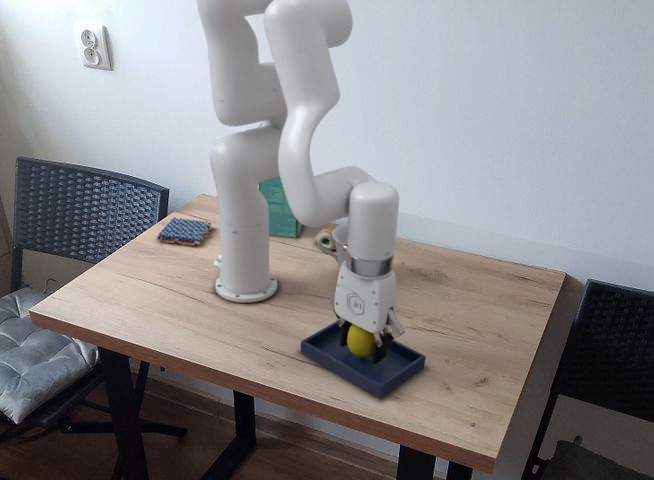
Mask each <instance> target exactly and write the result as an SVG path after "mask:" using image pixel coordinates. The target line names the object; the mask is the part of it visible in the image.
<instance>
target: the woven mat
mask: <svg viewBox="0 0 654 480" xmlns="http://www.w3.org/2000/svg"><path fill="white" fill-rule="evenodd" d="M211 230H213V226H212V222H209V221H208V220H206V221H202V220H200V219H199V221H198V220H195V219H192V220H191V219H189V218H185V219H183V218H182V217H180V218H176V217H175V216H174V217H173V218H172V219H170V220H169V221H168V222H167V223H166V225H165V226H164V227H163V228H162V230H161V231H160V232H159V233H158V235H157V236H156V240H158V241H159V242H161V243H168V244H174V243H176V244H180V245H184V246H199V245H201V243H202V241H203V240H204V239H206V238H208V234H209V233H210V231H211Z"/></svg>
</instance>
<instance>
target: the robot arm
mask: <svg viewBox="0 0 654 480" xmlns="http://www.w3.org/2000/svg"><path fill="white" fill-rule="evenodd" d="M196 6H197V7H196V8H197V11H198V16H199V19H200V22H201V26H202V29H203V32H204V36H205V40H206V46H207V55H208V58H207V59H208V66H209V76H210V87H211V97H212V104H213V109H214V113H215V117H216V118H217V120H218V121H219V122H220V123H221V124H222V125H224V126H227V127H234V128H235V127H242V126H248V125H252V124H255V123H261V122H263V126H262V127H259V126H258V127H254V128H249V129H245V130H242V131H237V132H234V133H231V134H228V135H225V136H223V137H221V138H220V139H218V140H217V141H215V142H214V144H213V145H212V147H211V149H210V152H209V164H210V168H211V173H212V176H213V181H214V185H215V190H216V197H217V206H218V207H217V208H218V222H219V223H218V225H219V238H220V239H219V241H220V253H219V255H217V260H214V261H213V263H212V267H214V268H216V269H218V270H219V276H218V277H217V278H216V280H215V282H214V283H215V284H214V286H215V291H216V293H217V294H218V295H219V297H221V298H223V299H225V300H227V301H229V302H235V303H245V304H246V303H247V304H249V303H256V302H260V301H265V300H267V299H268V298H270V297H272V296H273V295H274V294H275V293H276V291H277V290H278V279H277V278H276V276H275V275H273V274H272V273H270V235H269V209H268V204H267V201H266V199H265V197H264V196H263V195H262V193H261V192H260V191H259V183H261V182H264V181H266V180H269V179H272V178H276V177H279V176H280V178H281V181H282V185H283V188H284V191H285V195H286V198H287V201H288V204H289V206H290V209H291V211H292V213H293V214H294V216H295V218H296V219H297V220H298V221H299V222H300V223H301V224H303V226H305V227H308V228H318V227H321V226H324V225H327V224H329V223H332V222H335V221H338V220H340V219H343V218H348V219H347V223H348V235H347V243H346V244H345V245H344V246H343V250H344V251H345V252H346V260H345V261H344V262H343V263H342V266H341V269H340V268H339V272H338V276H337V281H336V285H335V293H334V294H333V295H331V296H329V297H328V302H329V304H330V305H331V307H332V309H333V313H334V315H335V316H336V318H337V321H338V325H339V326H341V329H340V346H342V347H344V346H346V345H348V343H347V337H348V332H349V329H350V327H351V326H352V324H355V325H356V326H358V327H360V328H362V329H364V330H366V331H368V332H370V333H373V334H374V337H375V341H376V343H374V344H373V349H372V360H371V362H372V363H373V364H376V363H378V362H380V361H381V360H383V359H384V358H385V357H386V355H387V347H388V342H390V341H392V340H396V339H397V338H400V337H401V336H402V335H404V334H406V333H405V332H406V330H405V329H404V327H403V325H402V323H401V322H400V320H399V318H398V317H397V316H396V315H397V300H398V299H397V296H398V295H397V294H398V293H397V281H396V279H397V278H396V272H395V270H393V268H394V259H395V249H396V248H395V247H396V237H397V227H398V218H399V217H398V216H399V208H400V207H399V206H400V194H399V192H398V190H397V188H396V187H395V186H393V185H391V184H389V183H388V182H387V183H386V182H382V181H378V180H377V179H375V178H374V177H373V176H372V175H370V174H369V173H368V172H366V171H365V170H364V169H362V168H360V167H358V166H355V165H346V166H343V167H340V168H336V169H334V170H329V171H327V172H323V173H320V174H317V175H315V174H314V170H313V166H312V161H311V144H312V139H313V136H314V134H315V131H316V129H317V128H318V126H319V125H320V123H321V122H322V120H323V119H324V118H325V116H326V115H327V114H328V113H329V112H330V111H331V110H332V109H333V108H334V107H335V106H336V105H338V103H339V101H340V99H341V91H340V86H339V84H338V80H337V77H336V72H335V68H334V64H333V62H332V57H331V54H330V50H329V49H331V48H338V47H340V46H342V45H344V44H345V43H346V42H347V41H348V40H349V39H350V37H351V34H352V31H353V27H354V26H353V25H354V21H353V20H354V19H353V13H352V10H351V7H350V4H349V3H348V1H347V0H196ZM257 15H263V28H264V32H265V36H266V39H267V44H268V47H269V50H270V53H271V56H272V60H273V61H266V62H261V63H260V55H259V42H258V38H257V35H256V34H255V33H256V32H255V31H254V30H253V28H252V26H251V24H250V23H249V21H248V20H247V18H246V17H249V16H257ZM390 328H391V329H390ZM381 333H382V334H383V335H384V336H382V335H381Z"/></svg>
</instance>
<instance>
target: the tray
mask: <svg viewBox="0 0 654 480" xmlns="http://www.w3.org/2000/svg"><path fill="white" fill-rule="evenodd" d="M340 329H341V326H339V325H338V320H336V321H334V322H333V323H331V324H329V325H327V326H326V327H325V326H324V327H323V328H322V329H320V330H318V331H317V332H314V333H313V334H311V335H309V336H308V337H306V338H304V339H302V340H301V341H300V354H301V355H303V356H305V357H307V358H308V359H310V360H312V361H313V362H315V363H317V364H319V365H320V366H321V367H324V368H325V369H327V370H328V371H331V372H332V373H334V374H336V375H337V376H339V377H341V378H342V379H344V380H345V381H348V382H350V383H351V384H353V385H355V386H356V387H358V388H359V389H361V390H364V391H365V392H367V393H368V394H370V395H371V396H373V397H375V398H377V399H379V400H381V399H382V398H384V397H385V396H387V395H388V394H390V393H391V392H392V391H394V390H395V389H397V388H398V387H400V386H401V385H402V384H404V383H406V382H407V381H408V380H409V379H411V378H412V377H414V376H415V375H416V374H418V373H419V372H421V371H422V370H423V369H425V365H426V357H427V356H426V355H425V354H422V353H421V352H419V351H417V350H415V349H413V348H410V347H409V346H407V345H406V344H403V343H401V342H400V341H397V340H396V339H394V340H392V341H390V342H388V347H387V355H386V357H385V358H384V359H383V360H381V361H380V362H378V363H376V364H373V363H372V362H371V360H372V355H371V356H370V357H367V358H360V357H357V356H355V355H354V354H352V353H351V351H350V350H349V347H348V345H346V346H344V347H342V346H340ZM381 335H382V336H384V335H383V332H381Z"/></svg>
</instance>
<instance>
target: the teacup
mask: <svg viewBox="0 0 654 480" xmlns="http://www.w3.org/2000/svg"><path fill="white" fill-rule="evenodd" d="M335 227H336V228H335V229H334V230H333V232H332V236H333V238H334V239H333V240H332V236H331V234H329V233H322V234H321V235H320V236H319V237H318V244H317V247H318V249H319V251H321V253H323V254H325V255H327V256H330V257H332V258H333V259H334V260H335V261H336V262H337V265H338V268H339V270H340V269H341V266H342V263H343V262H344V261H345V260H346V252H345V251H344V250H343V246H344V245H345V244H346V243H347V235H348V222H344V223H341V224H339V225H336V226H335ZM324 238H328V239H329V240H330V243H331V244H333V243H336V250H335V251H336V253H335V252H334V251H332V250H331V249H328V248H326V247H324V246H323V245H322V243H321V242H322V240H323V239H324Z"/></svg>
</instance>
